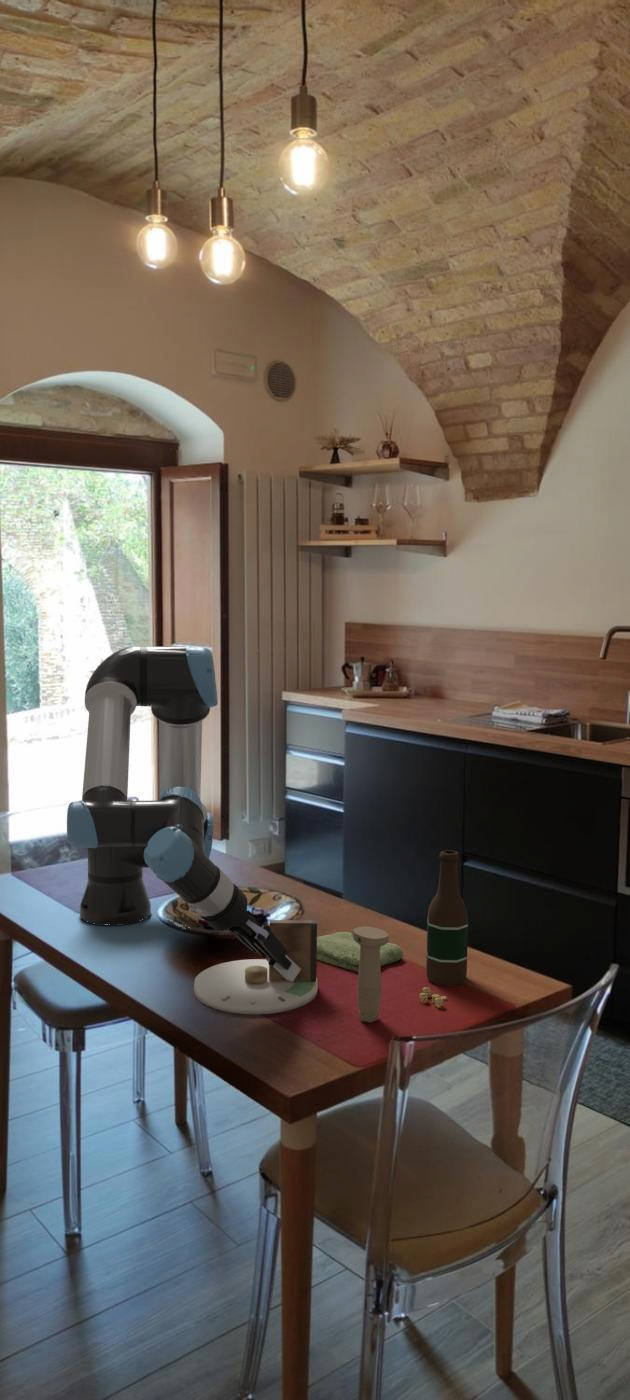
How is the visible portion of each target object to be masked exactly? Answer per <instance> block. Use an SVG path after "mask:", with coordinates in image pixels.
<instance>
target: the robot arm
mask: <svg viewBox="0 0 630 1400" xmlns="http://www.w3.org/2000/svg"><path fill="white" fill-rule="evenodd" d="M84 693H85V694H84V695H85V696H84V707H85V709H86V711H87V712H88V722H87V724H88V725H87V734H86V735H87V736H86V747H85V758H84V770H83V782H82V783H83V784H82V795H81V800H78V801H71V802H70V803H69V804H68V807H67V811H66V835H67V841H68V844H69V845H71V846H72V847H75V848H87V883H86V886H85V889H84V893H83V896H82V899H81V900H80V901H81V902H80V905H79V918H80V917H81V918H82V919H83V920H85V921H88V922H91V923H95V924H94V925H97V924H108V925H107V926H118V925H117V924H125V925H128V924H127V923H131V924H133V923H132V922H136V923H138V922H137V921H139V922H141V921H140V920H142V919H144V920H146V919H147V918H146V917H148V916H149V915H150V916H151V914H150V913H151V911H152V910H151V909H152V908H151V907H152V905H151V900H150V898H149V895H148V892H147V891H148V890H147V888H146V886H145V883H144V879H143V875H144V874H143V873H144V872H143V869H144V868H146V869H147V868H149V869H151V871H152V872H153V874H155V876H156V877H157V878H158V879H159V880H160V881H162V882H163V883H164V884H166V885H167V886H168V887H169V888H170V889H171V890H172V891H173V892H175V893H176V894H177V895H178V896H179V897H180V899H182V900H183V901H184V902H185V903H186V904H188V905H189V906H190V907H189V908H188V911H190V912H191V913H194V912H195V913H197V914H198V915H199V916H200V917H201V919H203V920H204V922H206V923H207V924H208V925H209V926H210V927H211V928H212V929H214V930H216V931H226V930H227V931H228V932H230V933H231V934H232V935H233V936H234V937H235V938H236V939H237V940H238V941H240V942H241V943H242V944H243V945H245V946H246V947H247V948H248V949H249V950H250V951H252V953H253V954H256V955H257V954H258V955H259V956H260V957H261V959H266V960H267V961H268V962H269V963H268V964H269V965H271V966H273V967H274V968H275V969H276V970H277V971H278V972H279V973H280V974H281V975H282V976H283V977H284V978H285V979H286V980H289V981H291V982H293V981H294V979H295V978H296V976H297V975H298V973H299V972H300V970H301V969H300V968H299V967H298V966H297V965H296V964H295V963H294V962H293V961H292V960H291V959H290V958H289V957H288V956H287V955H286V954H287V952H288V951H287V949H286V948H285V947H284V946H283V945H282V944H281V942H280V941H279V940H278V939H277V938H276V936H275V935H274V934H273V933H272V931H271V928H270V925H268V924H264V925H262V924H261V923H260V922H259V921H258V920H257V919H256V916H255V915H254V914H253V913H252V912H251V911H249V910H248V898H247V896H246V894H245V893H244V892H243V891H242V890H241V889H240V888H239V887H238V886H237V885H236V884H235V883H233V880H231V879H230V877H228V875H227V874H225V873H224V871H223V870H221V869H220V868H219V867H218V866H217V865H216V864H215V863H214V862H213V861H212V860H211V859H210V856H211V853H212V848H213V847H212V846H213V841H214V840H213V837H214V826H215V825H214V824H215V822H214V816H213V814H212V812H208V810H207V808H206V806H205V804H204V803H203V802H202V801H201V791H202V790H201V789H202V788H201V785H202V750H203V749H202V745H203V744H202V743H203V741H202V739H203V721H204V720H205V719H206V718H207V717H208V716H209V714H210V711H211V708H214V707H216V706H217V705H218V690H217V680H216V672H215V663H214V656H213V652H212V651H211V650H210V649H208V648H207V647H201V646H200V647H199V646H192V645H187V646H141V645H133V646H128V647H124V648H122V649H119V650H118V651H117V650H116V652H113V653H112V654H111V655H109V656H107V657H106V658H105V659H104V660H103V661H102V662H101V663H100V664H99V665H98V666H97V667H96V669H95V670H94V671H93V672H92V674H91V676H90V678H89V680H88V681H87V684H86V688H85V692H84ZM136 707H150V709H151V714H152V715H153V716H154V718H155V719H157V720H158V739H159V740H158V751H159V752H158V754H159V755H158V760H159V761H158V762H159V764H158V765H159V767H158V768H159V769H158V770H159V773H158V775H159V776H158V778H159V786H158V787H159V795H158V796H159V798H158V800H128V796H129V795H128V792H129V791H128V789H129V787H128V786H129V765H130V764H129V763H130V745H131V743H130V742H131V741H130V739H131V716H132V715H133V713H134V712H135V710H136ZM150 916H149V917H150ZM149 917H148V918H149ZM81 918H80V919H81ZM145 918H146V919H145ZM82 919H81V920H82ZM83 920H82V921H83ZM85 921H84V922H85ZM142 921H143V920H142ZM88 922H87V923H88ZM91 923H90V924H91ZM109 924H110V925H109Z"/></svg>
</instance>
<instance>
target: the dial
mask: <svg viewBox="0 0 630 1400" xmlns="http://www.w3.org/2000/svg"><path fill="white" fill-rule="evenodd" d="M266 959H267V958H261V959H260V958H259V959H258V958H254V959H237V960H231V961H227V962H226V961H225V962H221V963H219V964H215V965H213V966H210V967H208V968H206V969H204V970H202V971H201V972H199V973H198V974H197V976H195V978H194V982H193V992H194V995H195V997H196V1000H198V1001H199V1002H201V1003H202V1004H204V1005H205V1006H207V1007H210V1008H212V1009H215V1010H218V1011H222V1012H227V1013H232V1014H240V1015H270V1014H277V1013H283V1012H289V1011H292V1010H295V1009H299V1008H301V1007H303V1006H305V1005H307V1004H309V1003H310V1002H312V1001H313V1000H314V999H315V998H316V996H317V994H318V984H319V983H318V982H319V981H318V978H317V977H316V981H293V982H291V981H269V964H268V963H269V962H268V961H267V960H266ZM250 966H263V967H265V968H267V981H266V982H264V983H260V984H252V983H248V982H246V981H245V969H246V968H247V967H250Z"/></svg>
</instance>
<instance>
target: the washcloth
mask: <svg viewBox="0 0 630 1400" xmlns="http://www.w3.org/2000/svg"><path fill="white" fill-rule="evenodd" d="M403 958H404V952H403V950H402V948H401V947H400V945H398V944H396V943H390V942H388V943H387V944H385V945H383V946H381V947H380V968H381V967H383V966H385V965H390V964H392V963H396V962H398V961H401V960H402V959H403ZM317 961H319V962H323V963H326V964H328V965H329V964H330V965H332V966H335V967H339V968H342V969H346V970H350V971H352V972H355V973H359V962H360V945H359V944H358V943H357V942H356V941H355V940H354V938H353V932H347V931H342V932H341V931H340V932H339V931H338V932H334V933H330V934H327V935H326V934H325V935H320V936H317Z"/></svg>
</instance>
